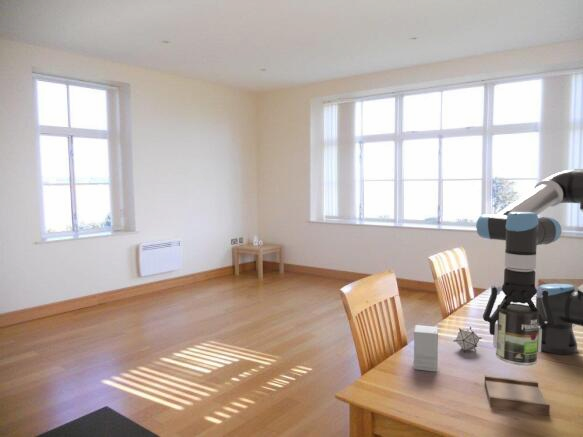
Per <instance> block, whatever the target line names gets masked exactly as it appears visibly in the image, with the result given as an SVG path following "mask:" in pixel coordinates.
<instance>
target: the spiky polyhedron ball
mask: <svg viewBox="0 0 583 437" xmlns="http://www.w3.org/2000/svg"><path fill="white" fill-rule="evenodd" d="M458 330H459V332H458V334H457V336H456V337H455V338H456V339H454V340H453V342H456V343H457V344H458V345H459V346H460V347H461V348H462V350H463V353H466V351H470V350H474V351H477V349H476V348H477V347H478V343H479V342H480V340H481V339H482V338H483V337H479V336H478V334H476V333H475V331H473V330H472V327H471V326H470V327H469V328H466V329H461V328H460V327H459V328H458Z"/></svg>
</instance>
